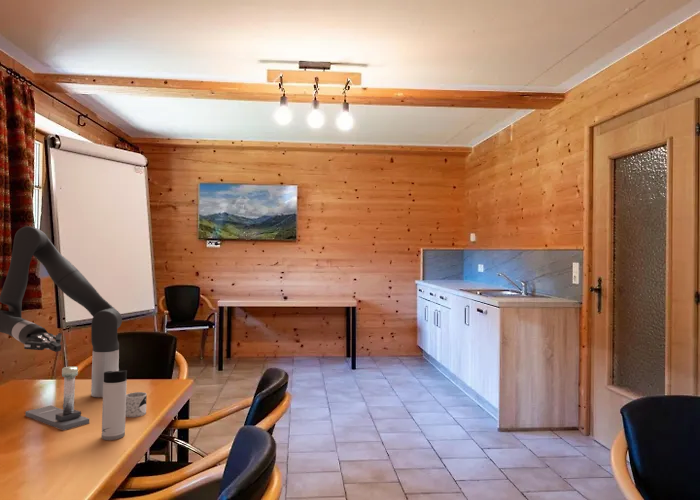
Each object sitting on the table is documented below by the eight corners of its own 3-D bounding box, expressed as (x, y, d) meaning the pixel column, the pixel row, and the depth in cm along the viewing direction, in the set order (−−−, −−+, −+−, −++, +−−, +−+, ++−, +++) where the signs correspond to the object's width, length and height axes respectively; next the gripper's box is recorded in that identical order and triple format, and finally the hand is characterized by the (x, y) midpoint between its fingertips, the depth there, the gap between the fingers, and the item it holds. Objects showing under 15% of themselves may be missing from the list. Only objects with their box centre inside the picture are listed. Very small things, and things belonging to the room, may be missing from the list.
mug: (143, 416, 158) (144, 397, 158) (122, 417, 157) (123, 397, 157) (149, 407, 168) (150, 389, 168) (130, 408, 166) (130, 389, 167)
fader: (54, 419, 149) (56, 368, 149) (74, 414, 154) (75, 365, 154) (62, 421, 146) (64, 370, 147) (81, 416, 151) (83, 367, 152)
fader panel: (25, 415, 156) (25, 411, 156) (50, 409, 163) (50, 405, 163) (63, 430, 144) (63, 425, 144) (89, 423, 151) (89, 418, 151)
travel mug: (101, 442, 135) (103, 372, 136) (101, 434, 141) (103, 368, 142) (125, 438, 138) (127, 371, 139) (124, 431, 144) (126, 366, 145)
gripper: (9, 327, 160) (39, 343, 153) (48, 319, 172) (78, 333, 164) (8, 348, 161) (38, 364, 154) (47, 338, 173) (77, 353, 166)
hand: (58, 348), depth 159 cm, fingers closed
